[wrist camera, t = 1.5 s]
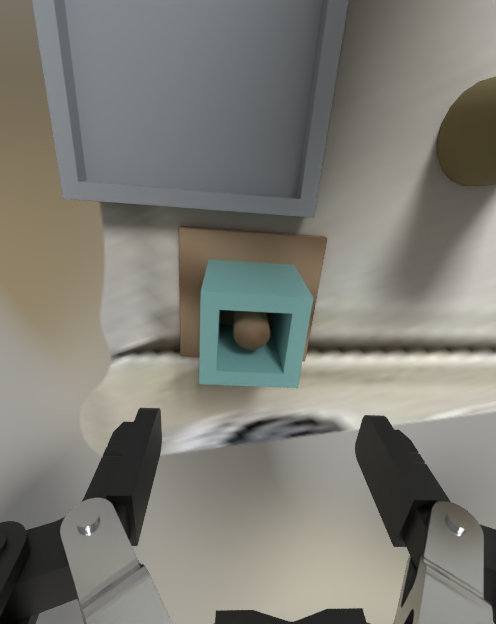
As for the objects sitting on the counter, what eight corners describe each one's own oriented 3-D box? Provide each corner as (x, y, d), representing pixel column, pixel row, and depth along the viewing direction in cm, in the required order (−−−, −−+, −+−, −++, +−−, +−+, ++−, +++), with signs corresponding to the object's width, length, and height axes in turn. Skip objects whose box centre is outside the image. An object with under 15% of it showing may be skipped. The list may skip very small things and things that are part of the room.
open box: (208, 259, 22) (200, 291, 17) (294, 264, 23) (313, 297, 17) (206, 351, 25) (198, 403, 20) (281, 355, 26) (294, 407, 20)
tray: (29, -160, 14) (-1, -207, 13) (356, -111, 15) (372, -147, 14) (77, 195, 21) (63, 198, 19) (307, 212, 22) (314, 217, 20)
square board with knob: (180, 226, 22) (164, 245, 17) (324, 236, 22) (351, 258, 18) (181, 351, 26) (169, 397, 21) (303, 357, 27) (319, 402, 22)
